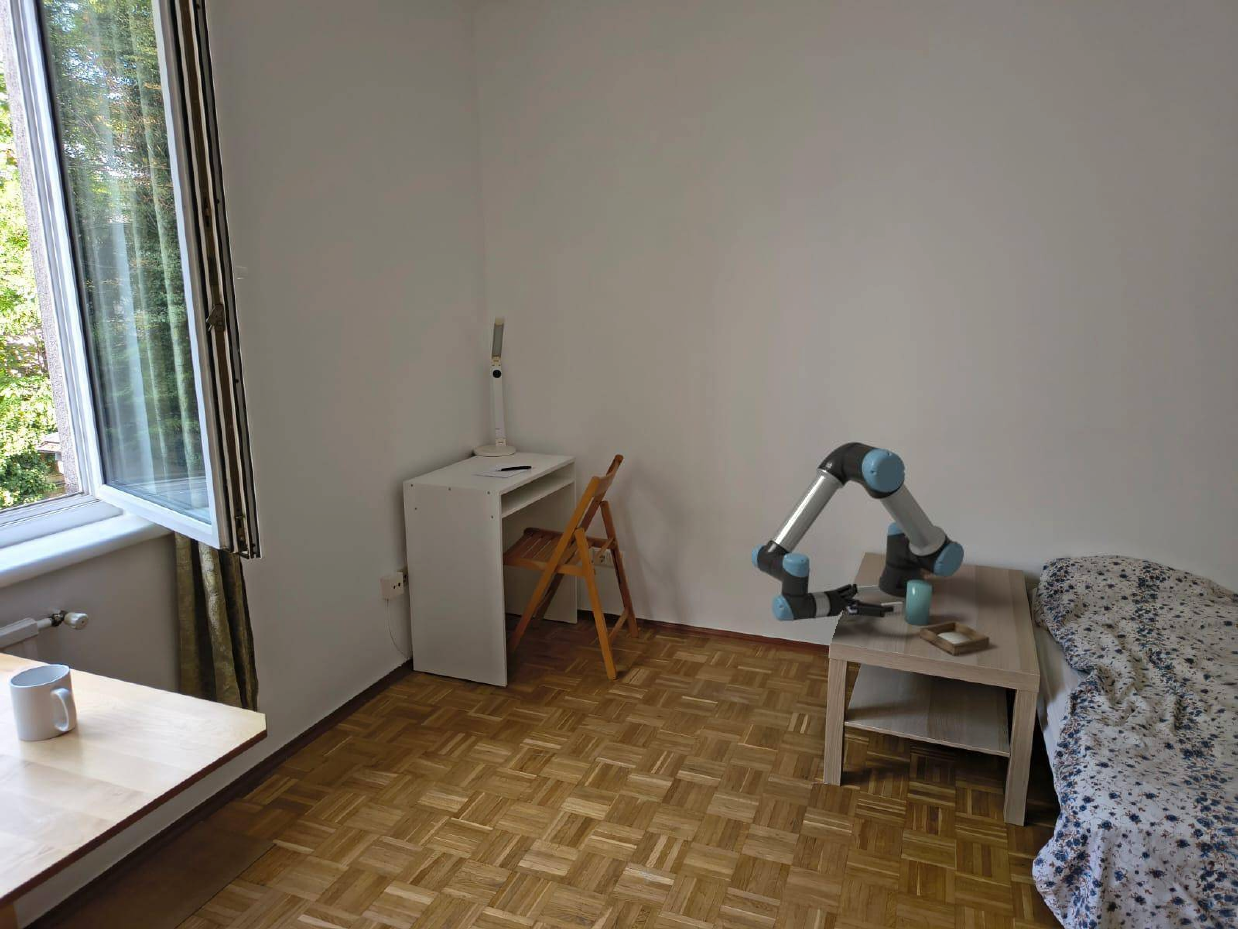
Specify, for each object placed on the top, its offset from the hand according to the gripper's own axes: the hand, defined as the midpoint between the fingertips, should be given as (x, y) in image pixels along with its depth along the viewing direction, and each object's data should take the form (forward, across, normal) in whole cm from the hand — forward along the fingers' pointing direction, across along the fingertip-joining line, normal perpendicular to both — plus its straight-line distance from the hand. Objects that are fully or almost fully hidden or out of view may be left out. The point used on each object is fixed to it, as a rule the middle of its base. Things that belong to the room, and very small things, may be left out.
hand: (889, 597), depth 254 cm
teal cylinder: (+10, 0, -8) cm, 13 cm away
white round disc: (+12, +16, -8) cm, 22 cm away
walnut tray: (+12, +16, -8) cm, 22 cm away
